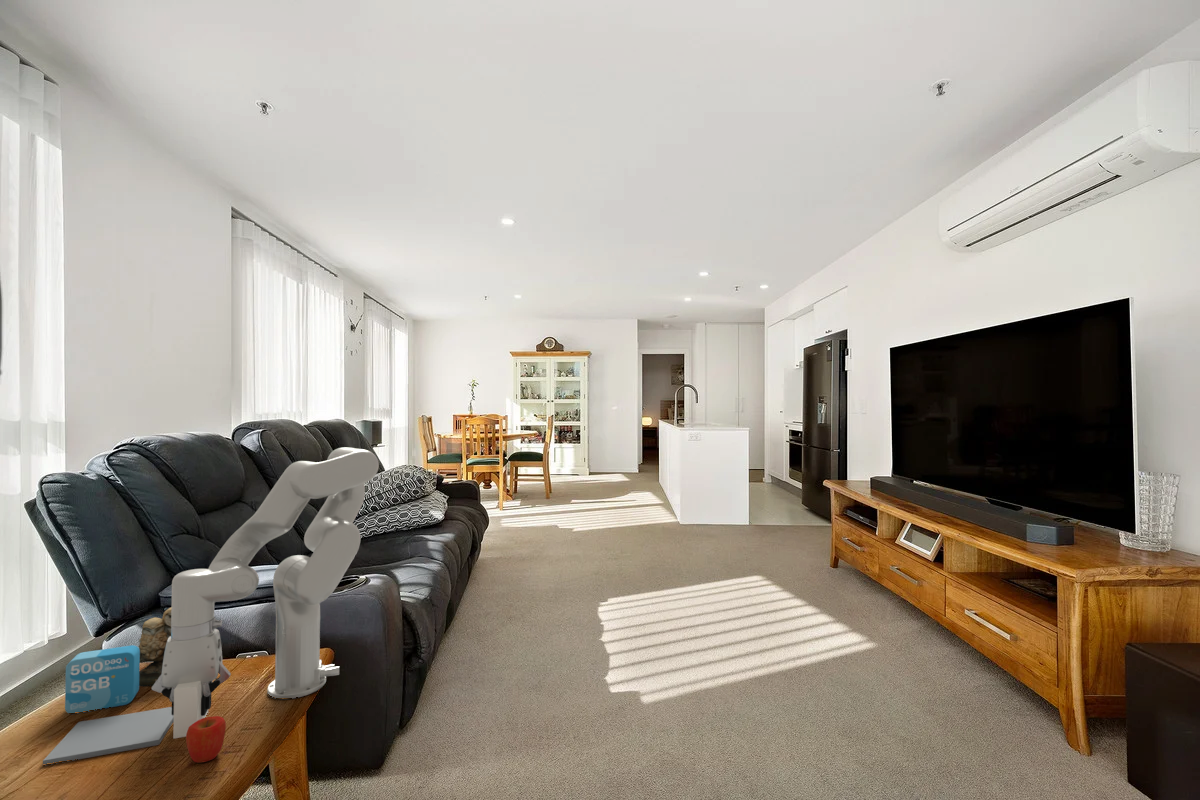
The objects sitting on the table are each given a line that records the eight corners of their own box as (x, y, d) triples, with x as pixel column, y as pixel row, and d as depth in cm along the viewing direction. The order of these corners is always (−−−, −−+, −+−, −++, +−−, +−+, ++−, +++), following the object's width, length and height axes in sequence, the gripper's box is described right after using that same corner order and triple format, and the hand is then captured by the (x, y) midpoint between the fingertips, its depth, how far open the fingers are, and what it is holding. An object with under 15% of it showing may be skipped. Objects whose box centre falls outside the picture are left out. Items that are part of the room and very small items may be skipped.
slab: (208, 712, 125) (208, 667, 125) (196, 734, 116) (197, 686, 117) (186, 716, 123) (187, 670, 123) (173, 738, 115) (174, 689, 115)
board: (180, 709, 126) (180, 705, 126) (159, 744, 113) (159, 739, 113) (78, 726, 119) (78, 721, 119) (42, 765, 106) (42, 760, 106)
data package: (64, 716, 123) (65, 661, 123) (72, 706, 127) (73, 653, 127) (133, 703, 128) (134, 651, 128) (139, 694, 132) (140, 643, 132)
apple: (189, 774, 104) (190, 733, 104) (182, 759, 108) (183, 720, 108) (229, 758, 108) (229, 720, 108) (220, 745, 113) (221, 708, 113)
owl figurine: (124, 694, 132) (124, 622, 133) (131, 674, 142) (131, 607, 143) (216, 674, 142) (216, 606, 143) (216, 657, 152) (217, 594, 153)
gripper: (242, 617, 127) (241, 698, 126) (151, 628, 120) (150, 713, 120) (234, 629, 120) (233, 716, 120) (138, 641, 113) (136, 732, 113)
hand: (191, 713), depth 120 cm, fingers closed on slab, 4 cm apart
